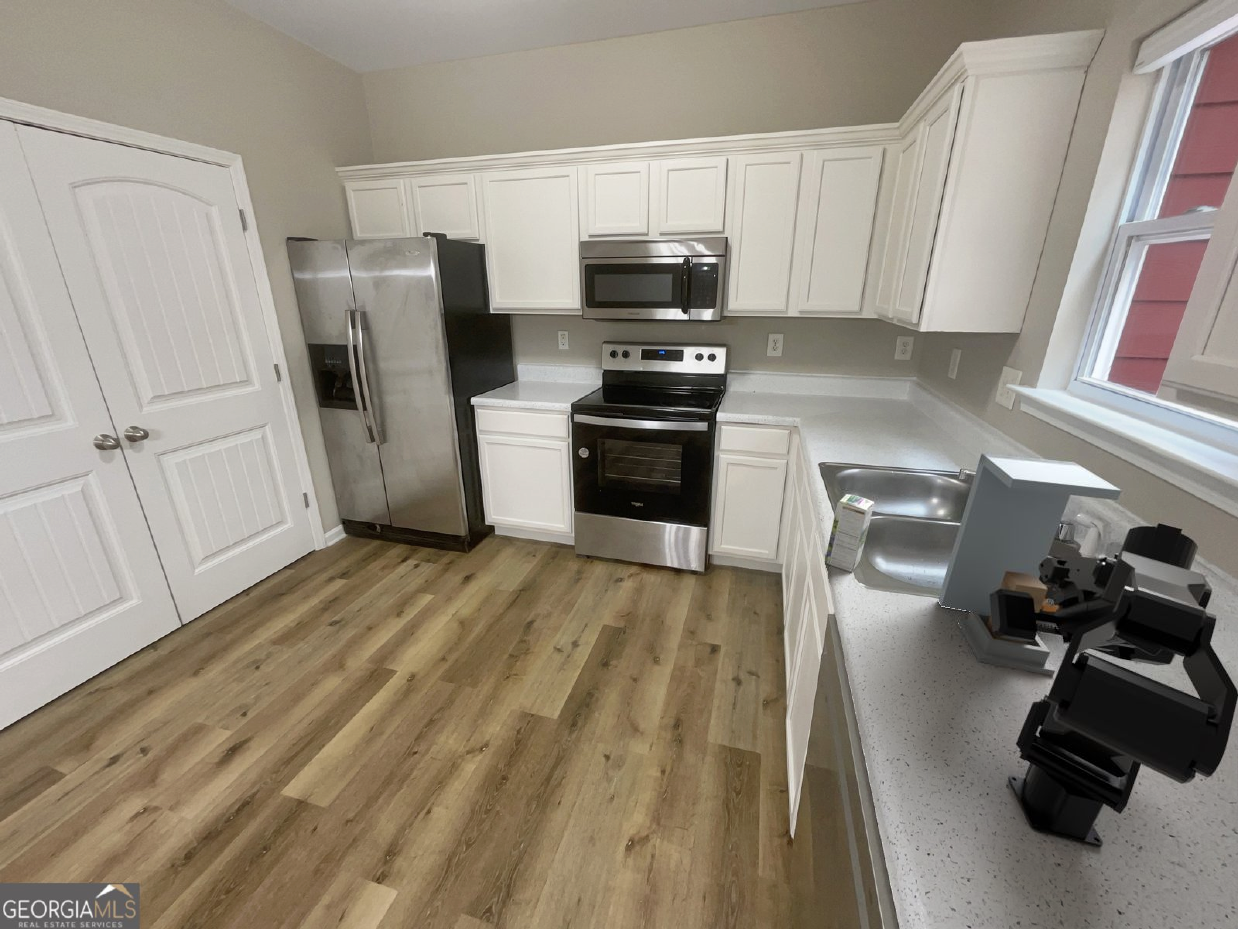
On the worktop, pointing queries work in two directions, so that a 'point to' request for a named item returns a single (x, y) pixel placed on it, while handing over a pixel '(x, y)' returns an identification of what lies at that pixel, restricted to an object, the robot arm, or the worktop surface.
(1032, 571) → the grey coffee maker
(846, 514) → the syrup box
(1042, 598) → the peg
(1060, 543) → the supplement container
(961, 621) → the socket
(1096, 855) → the worktop surface
